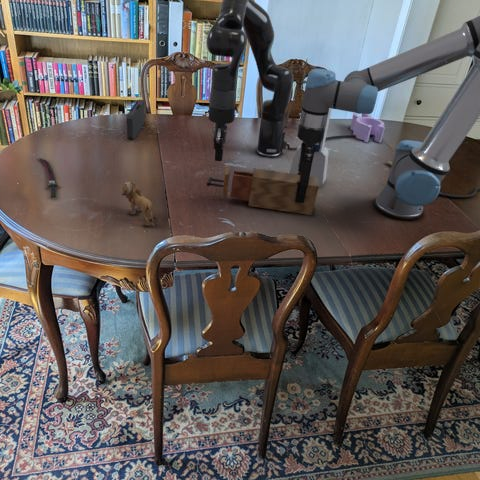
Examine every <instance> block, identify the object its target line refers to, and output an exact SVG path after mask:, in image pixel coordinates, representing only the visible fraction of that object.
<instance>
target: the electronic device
mask: <svg viewBox="0 0 480 480" xmlns="http://www.w3.org/2000/svg"><path fill="white" fill-rule="evenodd" d="M332 108H333V107H332ZM332 108H329V111H328V118H327V122H326V127H324V129H325V131H324V136H323V140H322V141H321V142H319V143H318V144H315V153H314V157H313V161H312V166H311V172H310V177H316V178H318V185H319V187H318V188H320V187H321V186H322V185H324V183H325V181H326V179H327V173H328V163H329V162H328V161H329V153H330V150H329V149H328V148H327V147H326V146H325V145H326V138H327V135H328V130H329V125H330V119H331V114H332V110H333V109H332ZM301 144H302V143H300V144H299V145H298V147H296V148H297V150H295V152H294V156H293V159H292V162H291V166H290V169H289V172H288V173H289V174H296V175H298V169H299V167H298V165H299V161H300V156H301ZM299 173H300V172H299Z"/></svg>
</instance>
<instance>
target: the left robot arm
mask: <svg viewBox="0 0 480 480" xmlns="http://www.w3.org/2000/svg"><path fill="white" fill-rule="evenodd" d="M218 13H219V14H218V17H217V18H216V20H215V22H214V23H213V25H212V26H211V28H210V29H209V32H208V33H207V35H206V43H205V44H206V49H207V51H208V52H209V53H210V54H211V55H213V56H217V57H224V58H225V57H226V58H231V60H230V61H229V62H227V63H219V64H215V65H214V66H213V67H212V68H211V69H212V70H211V83H210V91H209V101H208V120H209V121H210V122H212V123H214V126H213V128H212V133H213V139H212V140H213V150H215V151H214V161H215V162H222V161H223V155H224V148H225V143H226V140H227V133H228V130H229V125H227V124H231V123H234V122H235V116H236V104H237V82H238V73H239V68H240V65H241V61H242V59H243V57H244V54H245V51H246V48H247V44H249V47H250V50H251V52H252V55H253V58H254V61H255V65H256V68H257V72H258V77H259V80H260V83H261V86H262V87H263V88H264V89H266V90H267V91H269V92H271V93H273V95H272V99H266V100H263V102H262V105H261V114H260V123H259V131H258V138H257V139H258V140H257V148H256V153H257V154H258V155H259V156H262V157H264V158H265V157H266V158H277V157H279V156H281V155H282V154H283V150H286V149H288V150H290V151H296V150H297V148H298V147H290V146H291V145H290V143H288V142H287V141H286V140H285V136H286V130H284V128H285V127H284V125H285V122H286V117H287V116H286V115H287V109H288V107H289V104H290V101H291V96H292V91H293V86H294V74H293V73H294V72H293V71H292V70H291V69H289V68H286V67H284V66H280V65H278V64H276V62H275V59H274V56H273V54H272V48H273V45H274V41H275V30H274V27H273V23H272V20H271V17H270V15H269V14H268V12H267V11H266V9H264V8H263V7H262V6H261V5H259V4H258V3H257V2H256V1H255V0H222V1H221V4H220V8H219V12H218ZM242 29H243V30H242ZM373 137H374V135H372V134H370V136H369V138H373ZM340 138H356V135H353V134H345V135H343V134H342V135H333V136H326V140H331V139H340ZM326 140H325V141H326ZM315 145H317V143H315Z"/></svg>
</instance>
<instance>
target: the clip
mask: <svg viewBox="0 0 480 480" xmlns="http://www.w3.org/2000/svg"><path fill="white" fill-rule="evenodd" d="M352 113H353V114H352V118H351V122H350V126H349V129H350V130H351V131H353V132H352V135H356V137H355V138H356V139H358V140H361V141H363V142H364V143H368V142H369V140H370V137H369V136H370V135H373V136H374V139H373V140H374V142H376V143H382V140H383V137H384V132H385V129H386V127H385V122H384V121H383V120H380V119H377V118H374V117H372V115H371V114H361V115H358V113H355V112H352Z"/></svg>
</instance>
